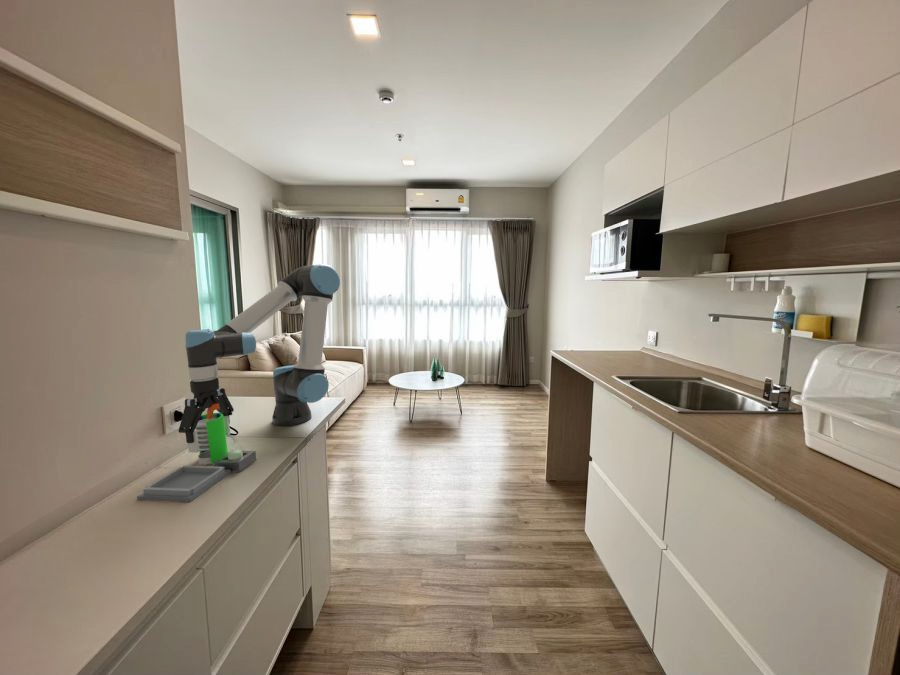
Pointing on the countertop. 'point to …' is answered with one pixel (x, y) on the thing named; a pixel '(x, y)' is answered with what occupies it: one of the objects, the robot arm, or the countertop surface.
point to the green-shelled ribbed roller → (211, 436)
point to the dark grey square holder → (236, 461)
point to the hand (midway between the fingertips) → (210, 442)
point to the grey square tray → (184, 483)
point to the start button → (235, 454)
